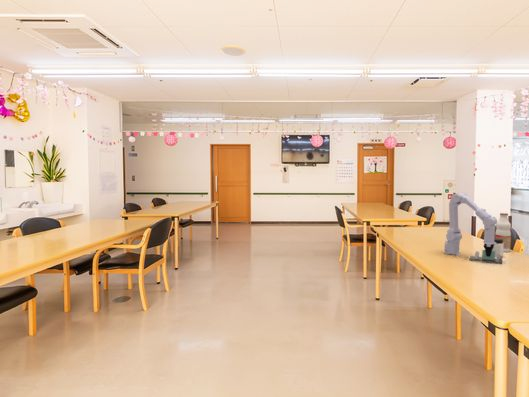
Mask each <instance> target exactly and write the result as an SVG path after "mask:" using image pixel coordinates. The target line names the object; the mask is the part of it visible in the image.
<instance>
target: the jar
mask: <svg viewBox="0 0 529 397" xmlns="http://www.w3.org/2000/svg"><path fill="white" fill-rule="evenodd" d="M494 242H496V244H494V246H493V247H494V248H493V249H492V251H495V258H497V254H501V256H502V258H503V257H504V252H503V246H504V243H503V239H500V238H495V237H494Z"/></svg>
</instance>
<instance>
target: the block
mask: <svg viewBox="0 0 529 397" xmlns="http://www.w3.org/2000/svg"><path fill="white" fill-rule="evenodd" d="M481 257H482V259H490V260H495V259H496V257H495V251H492V252H491V256H490V257H488V256H486V251H485V249H482V253H481Z"/></svg>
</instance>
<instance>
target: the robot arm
mask: <svg viewBox="0 0 529 397" xmlns="http://www.w3.org/2000/svg"><path fill="white" fill-rule="evenodd" d="M449 200H450V201H449V202H448V211H449V212H448V214H449V219H448V220H449V221H448V222H449V228H448V229H447V231H446V232H447V233H446V234H445V236H446V237H445V238H446V240H444V254H445V255H453V256H454V255H456V256H460V254H461V252H460V244H461V240H462V238H463V234H462V233H461V229H460V228H459V206H460V205H461V204H465V205H467V206H468V207H469V208H471V209H472V210H473V211H474V212H475V213H474V214H475V215H476V216H477V217H478V219H480V220H481V221H482V225H484V226H483V228H484V229H483V230H484V232H483V243H484V245H483V247H484V250H485V251H486V256H488V257H490V256H491V252H492V249H493V248H494V247H493V246H494V244H496V242H494V238H495V233H496V223H497V222H498V219H497V217H495V216H492V215H491V214H489V213H488V212H487V209H486V208H482V207H481V208H480V207H479V206H478V205H477V204H476V202H474V200H472V198H471V196H469V195H468V194H467V193H466V192H461V193H453V194H452V195H451V196H450V199H449Z"/></svg>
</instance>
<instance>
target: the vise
mask: <svg viewBox="0 0 529 397" xmlns="http://www.w3.org/2000/svg"><path fill="white" fill-rule="evenodd" d="M470 260H471V261H472V262H473V261H474V262H478V263H479V262H481V263H487V264H488V263H489V264H496V265H503V257H502V256H501V254H497V257H496V258H495V260H490V259H482V256H479V259H475V255H470V256H469V261H470Z"/></svg>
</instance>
